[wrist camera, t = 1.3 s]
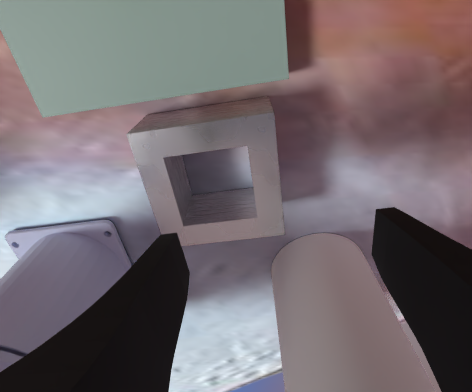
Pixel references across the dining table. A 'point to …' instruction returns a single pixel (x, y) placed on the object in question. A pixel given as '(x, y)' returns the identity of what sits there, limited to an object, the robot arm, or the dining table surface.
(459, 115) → the dining table surface
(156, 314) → the robot arm
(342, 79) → the dining table surface
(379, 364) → the cylindrical container
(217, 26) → the plate
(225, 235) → the grey boxy piece
